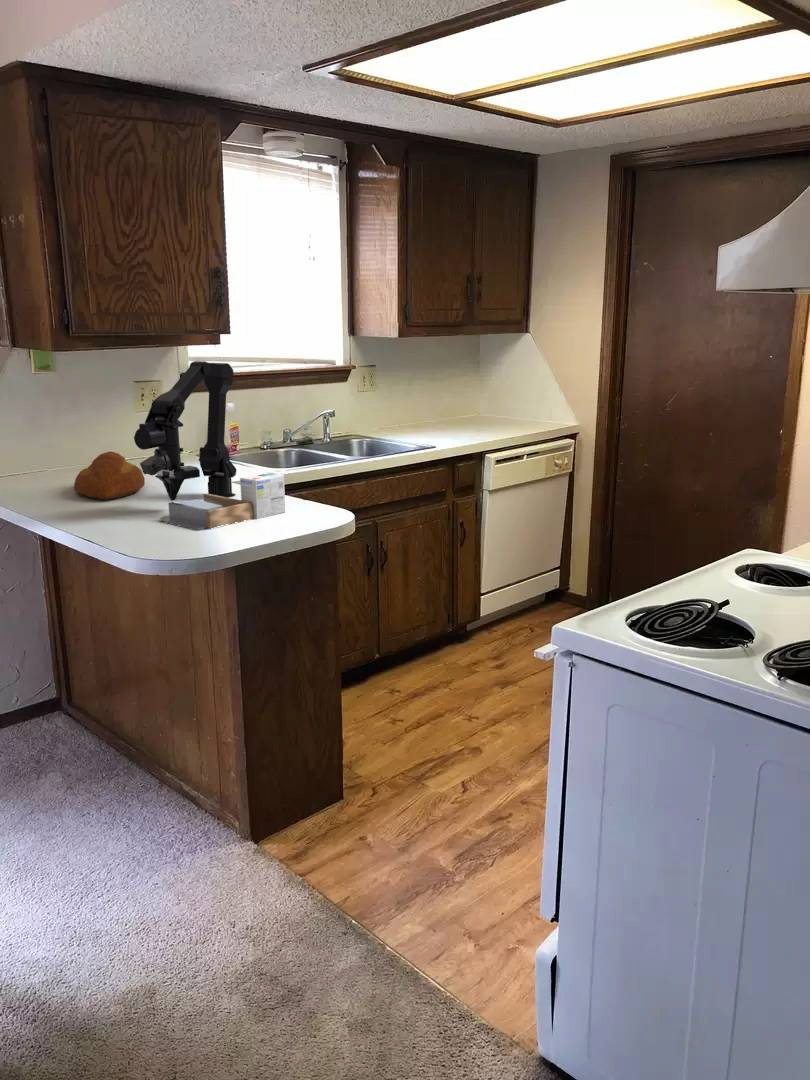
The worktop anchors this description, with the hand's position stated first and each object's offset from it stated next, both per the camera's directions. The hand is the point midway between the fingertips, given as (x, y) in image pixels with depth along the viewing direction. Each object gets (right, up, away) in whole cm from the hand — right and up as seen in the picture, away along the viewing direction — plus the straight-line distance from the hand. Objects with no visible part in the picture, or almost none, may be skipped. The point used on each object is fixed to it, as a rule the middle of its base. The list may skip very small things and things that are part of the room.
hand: (172, 500), depth 240 cm
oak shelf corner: (+12, -5, -9) cm, 16 cm away
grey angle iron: (+7, -7, -15) cm, 18 cm away
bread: (-27, +4, +27) cm, 38 cm away
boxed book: (+9, -6, -8) cm, 13 cm away
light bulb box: (+26, -4, -3) cm, 27 cm away
